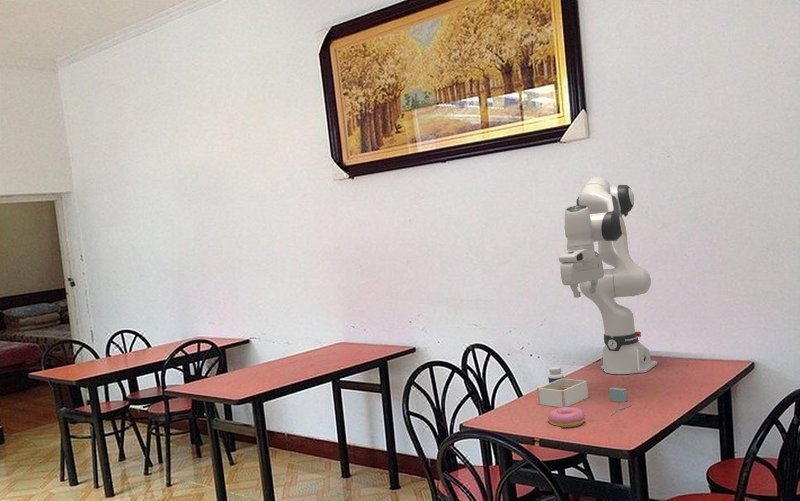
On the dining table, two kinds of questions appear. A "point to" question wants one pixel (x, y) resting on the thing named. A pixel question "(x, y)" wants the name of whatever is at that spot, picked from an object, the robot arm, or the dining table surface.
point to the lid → (618, 396)
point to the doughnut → (566, 417)
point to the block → (566, 387)
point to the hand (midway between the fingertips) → (585, 295)
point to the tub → (563, 393)
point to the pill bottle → (555, 374)
